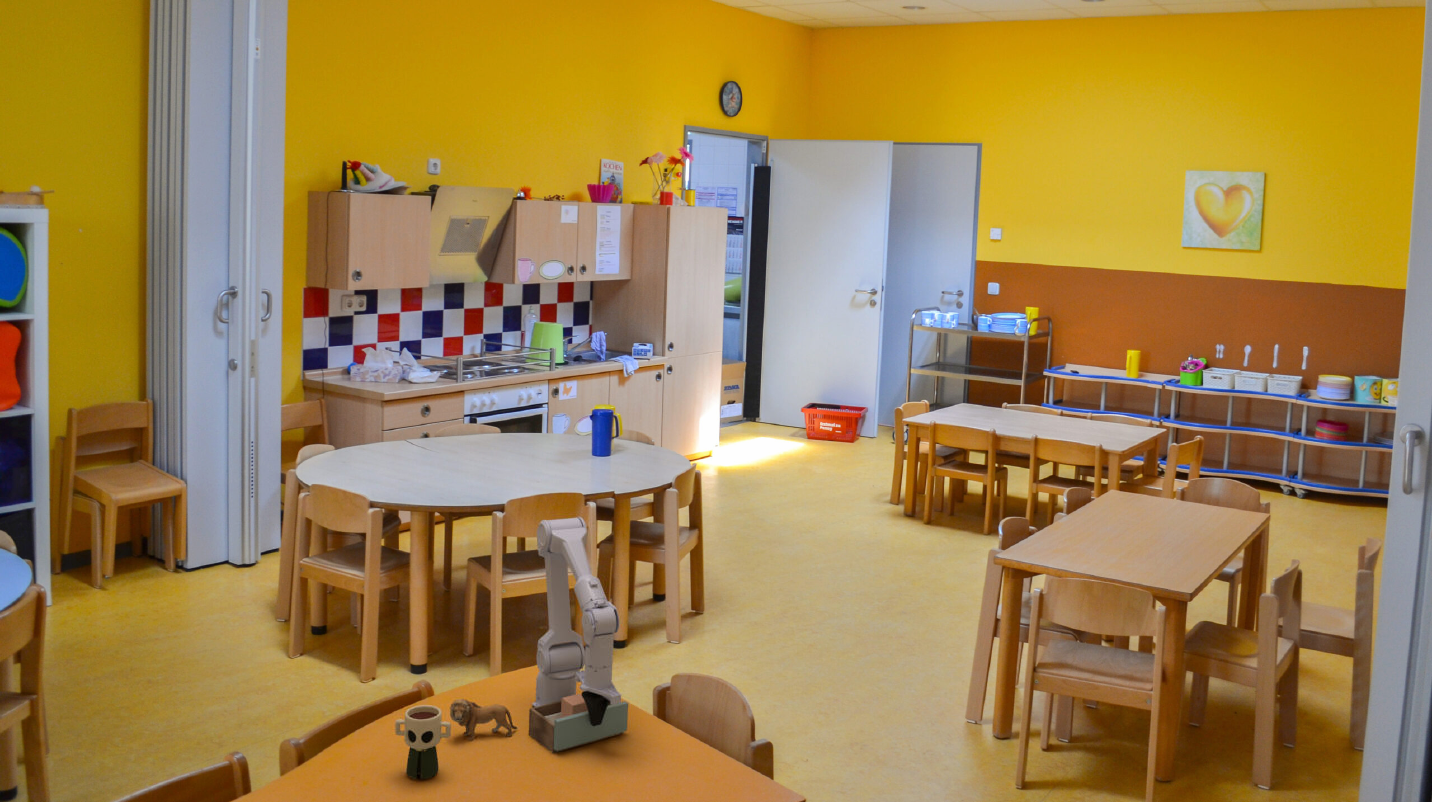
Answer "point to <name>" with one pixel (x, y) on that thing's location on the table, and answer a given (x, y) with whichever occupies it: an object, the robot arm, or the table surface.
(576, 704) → the terracotta block
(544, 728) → the cubby
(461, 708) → the lion figurine
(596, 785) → the table surface
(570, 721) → the green drawer
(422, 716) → the character mug
